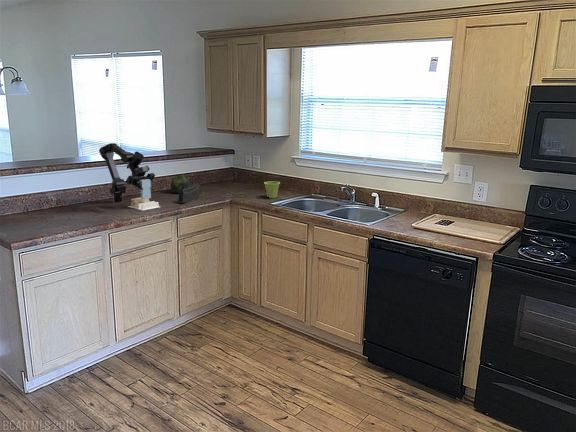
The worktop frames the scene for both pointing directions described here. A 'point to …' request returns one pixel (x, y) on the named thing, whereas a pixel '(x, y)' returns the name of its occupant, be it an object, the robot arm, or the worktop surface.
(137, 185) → the robot arm
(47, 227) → the worktop surface
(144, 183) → the blue rectangular block
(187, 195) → the magazine
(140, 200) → the offcut stack
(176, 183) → the squash
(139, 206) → the rack
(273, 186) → the plant pot
